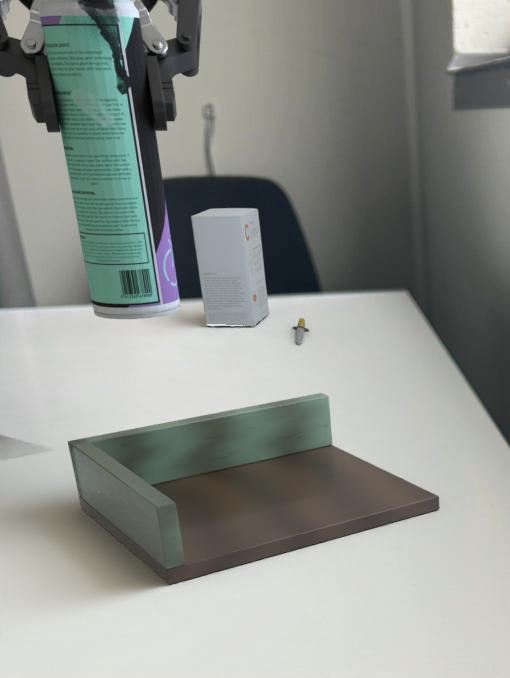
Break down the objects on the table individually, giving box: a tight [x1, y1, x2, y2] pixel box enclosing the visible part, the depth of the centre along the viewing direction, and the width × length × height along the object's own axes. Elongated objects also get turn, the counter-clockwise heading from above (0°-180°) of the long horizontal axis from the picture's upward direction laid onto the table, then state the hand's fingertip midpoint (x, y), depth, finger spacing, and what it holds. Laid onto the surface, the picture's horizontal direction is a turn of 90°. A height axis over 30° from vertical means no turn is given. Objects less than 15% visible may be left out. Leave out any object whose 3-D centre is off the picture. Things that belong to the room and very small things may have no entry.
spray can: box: [39, 0, 181, 320], centre depth 62 cm, size 6×6×20 cm
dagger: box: [292, 317, 310, 345], centre depth 122 cm, size 11×1×2 cm
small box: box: [190, 207, 270, 327], centre depth 128 cm, size 8×6×13 cm
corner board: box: [67, 392, 440, 585], centre depth 71 cm, size 20×16×5 cm
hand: (107, 120), depth 60 cm, fingers closed on spray can, 5 cm apart
